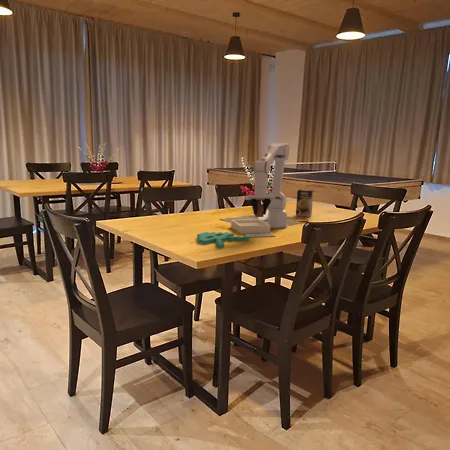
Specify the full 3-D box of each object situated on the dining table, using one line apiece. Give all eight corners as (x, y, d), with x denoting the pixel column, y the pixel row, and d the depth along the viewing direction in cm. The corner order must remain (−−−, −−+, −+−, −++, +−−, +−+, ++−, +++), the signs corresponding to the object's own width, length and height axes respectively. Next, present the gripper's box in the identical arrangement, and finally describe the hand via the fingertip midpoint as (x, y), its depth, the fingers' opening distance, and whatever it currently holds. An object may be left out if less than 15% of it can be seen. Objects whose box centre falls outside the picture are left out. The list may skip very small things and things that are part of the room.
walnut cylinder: (261, 216, 199) (261, 203, 199) (264, 217, 196) (265, 204, 195) (254, 216, 198) (254, 203, 197) (257, 217, 195) (257, 204, 194)
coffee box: (295, 216, 253) (297, 189, 250) (297, 214, 259) (299, 188, 255) (310, 217, 250) (312, 191, 246) (311, 215, 256) (313, 189, 252)
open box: (258, 226, 220) (259, 218, 219) (269, 232, 205) (270, 225, 204) (231, 227, 216) (231, 219, 215) (240, 234, 201) (240, 226, 200)
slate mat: (269, 233, 204) (269, 232, 204) (274, 236, 197) (274, 235, 197) (242, 234, 200) (242, 233, 200) (247, 237, 194) (247, 237, 193)
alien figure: (248, 241, 189) (215, 234, 201) (248, 236, 188) (215, 229, 201) (220, 249, 174) (187, 241, 186) (220, 244, 173) (187, 236, 185)
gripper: (249, 187, 188) (248, 216, 191) (278, 187, 192) (276, 215, 195) (244, 185, 195) (243, 213, 197) (272, 185, 199) (271, 212, 202)
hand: (259, 214), depth 197 cm, fingers closed on walnut cylinder, 4 cm apart
